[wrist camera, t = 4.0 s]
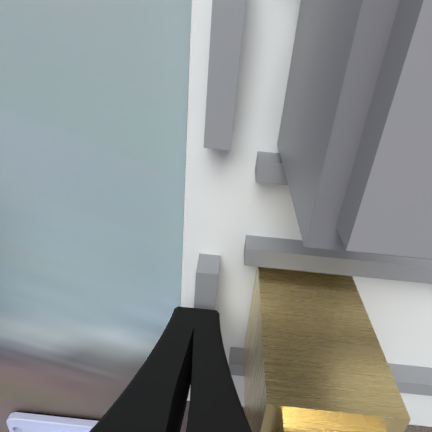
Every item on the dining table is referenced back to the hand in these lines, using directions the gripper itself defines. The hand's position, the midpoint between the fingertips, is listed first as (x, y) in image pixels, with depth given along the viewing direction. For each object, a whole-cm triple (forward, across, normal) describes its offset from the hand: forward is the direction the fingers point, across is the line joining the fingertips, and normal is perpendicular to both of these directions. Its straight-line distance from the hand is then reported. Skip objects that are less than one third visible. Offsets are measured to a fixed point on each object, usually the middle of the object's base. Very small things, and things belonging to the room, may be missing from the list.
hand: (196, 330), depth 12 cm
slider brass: (+1, -3, 0) cm, 4 cm away
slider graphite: (+1, -3, -8) cm, 9 cm away
